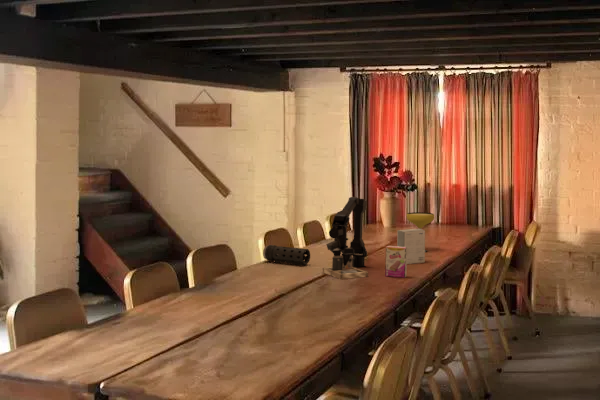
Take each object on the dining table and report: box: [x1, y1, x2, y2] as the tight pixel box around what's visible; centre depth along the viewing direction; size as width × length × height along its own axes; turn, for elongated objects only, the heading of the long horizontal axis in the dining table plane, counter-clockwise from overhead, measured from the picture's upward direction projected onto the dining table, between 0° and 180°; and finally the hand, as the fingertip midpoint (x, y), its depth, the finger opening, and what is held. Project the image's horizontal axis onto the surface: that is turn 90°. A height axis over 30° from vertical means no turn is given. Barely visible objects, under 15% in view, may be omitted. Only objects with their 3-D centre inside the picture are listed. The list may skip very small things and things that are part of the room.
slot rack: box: [322, 266, 369, 280], centre depth 409 cm, size 17×20×2 cm
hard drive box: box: [396, 228, 426, 265], centre depth 449 cm, size 16×8×20 cm, turn 115°
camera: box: [331, 254, 353, 271], centre depth 413 cm, size 11×6×10 cm, turn 114°
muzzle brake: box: [262, 244, 311, 267], centre depth 442 cm, size 10×28×10 cm, turn 59°
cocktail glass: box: [406, 211, 435, 253], centre depth 494 cm, size 18×18×25 cm
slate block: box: [341, 270, 358, 274], centre depth 405 cm, size 8×5×3 cm, turn 103°
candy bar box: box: [384, 245, 408, 279], centre depth 405 cm, size 11×5×16 cm, turn 71°
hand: (341, 264), depth 413 cm, fingers open, 9 cm apart
